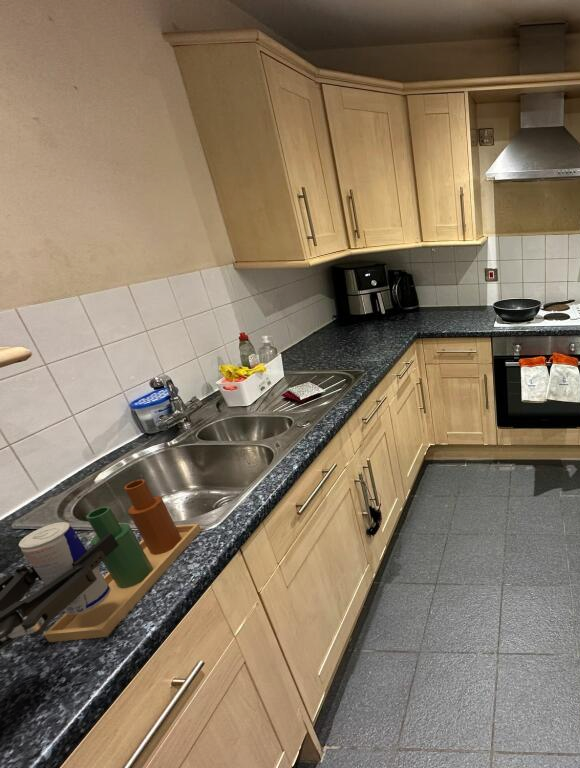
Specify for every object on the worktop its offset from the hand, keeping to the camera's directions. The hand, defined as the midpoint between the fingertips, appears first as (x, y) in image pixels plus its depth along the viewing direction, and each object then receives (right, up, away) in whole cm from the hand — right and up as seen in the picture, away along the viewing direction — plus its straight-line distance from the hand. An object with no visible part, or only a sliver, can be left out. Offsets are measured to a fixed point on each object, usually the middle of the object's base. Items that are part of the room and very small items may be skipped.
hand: (94, 541), depth 70 cm
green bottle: (0, -10, +7) cm, 12 cm away
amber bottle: (0, -7, +15) cm, 16 cm away
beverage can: (+1, -10, -1) cm, 10 cm away
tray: (0, -10, +7) cm, 12 cm away
